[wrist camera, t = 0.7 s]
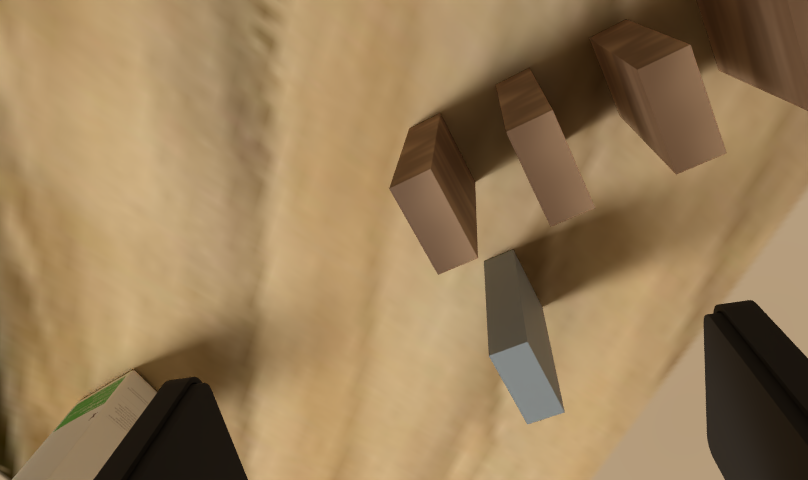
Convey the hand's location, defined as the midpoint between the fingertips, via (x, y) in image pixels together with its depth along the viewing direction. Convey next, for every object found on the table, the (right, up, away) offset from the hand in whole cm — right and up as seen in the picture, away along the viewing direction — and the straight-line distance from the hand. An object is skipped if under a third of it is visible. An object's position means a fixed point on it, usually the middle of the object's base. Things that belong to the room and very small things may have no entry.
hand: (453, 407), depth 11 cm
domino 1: (+2, +9, +31) cm, 32 cm away
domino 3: (+13, +14, +28) cm, 34 cm away
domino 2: (+8, +12, +29) cm, 32 cm away
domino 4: (+19, +17, +26) cm, 36 cm away
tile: (+8, 0, +35) cm, 36 cm away
